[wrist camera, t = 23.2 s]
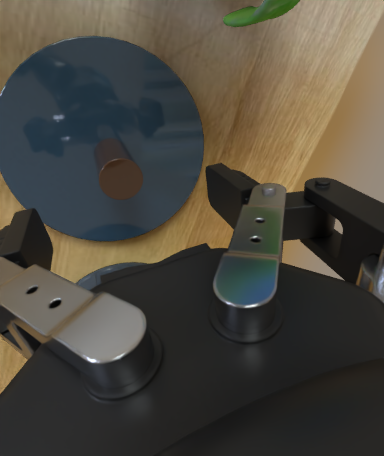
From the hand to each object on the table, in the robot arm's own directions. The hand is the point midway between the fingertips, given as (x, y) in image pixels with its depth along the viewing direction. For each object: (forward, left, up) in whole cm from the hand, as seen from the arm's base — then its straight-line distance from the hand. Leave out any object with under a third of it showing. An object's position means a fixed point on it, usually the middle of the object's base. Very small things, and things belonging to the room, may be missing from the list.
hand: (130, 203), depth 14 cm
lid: (0, 0, -8) cm, 8 cm away
